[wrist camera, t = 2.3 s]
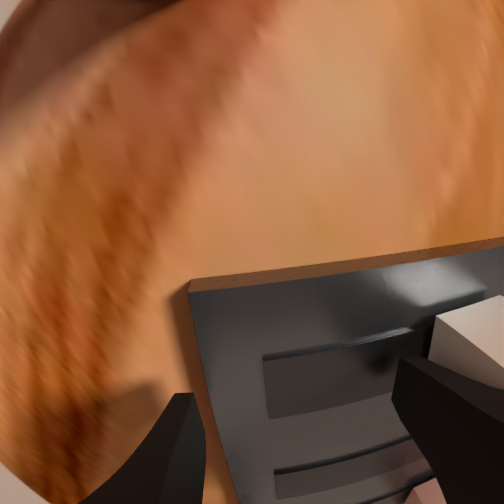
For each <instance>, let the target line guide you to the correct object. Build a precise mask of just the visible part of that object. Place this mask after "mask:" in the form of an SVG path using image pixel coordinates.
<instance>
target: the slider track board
mask: <svg viewBox="0 0 504 504" xmlns="http://www.w3.org/2000/svg"><path fill="white" fill-rule="evenodd" d="M498 295H501V296H503V297H504V237H500V238H494V239H488V240H482V241H475V242H469V243H463V244H456V245H450V246H444V247H437V248H430V249H424V250H417V251H410V252H403V253H396V254H389V255H382V256H375V257H368V258H361V259H353V260H346V261H339V262H331V263H323V264H316V265H308V266H300V267H292V268H284V269H276V270H268V271H260V272H251V273H243V274H234V275H226V276H217V277H208V278H199V279H192V280H191V283H190V286H189V290H188V297H189V303H190V308H191V314H192V319H193V324H194V329H195V334H196V339H197V344H198V349H199V353H200V358H201V363H202V367H203V372H204V376H205V380H206V385H207V389H208V393H209V397H210V401H211V405H212V409H213V413H214V417H215V421H216V425H217V429H218V433H219V436H220V440H221V444H222V447H223V451H224V454H225V458H226V461H227V465H228V468H229V472H230V475H231V478H232V482H233V485H234V488H235V491H236V494H237V498H238V501H239V504H404V503H405V501H406V500H407V498H408V496H409V495H410V493H411V491H412V490H413V488H415V487H417V486H419V485H421V484H423V483H426V482H428V481H430V480H432V479H434V478H436V477H435V475H434V473H433V470H432V469H431V467H430V465H429V463H428V462H427V460H426V459H425V457H424V455H423V454H422V452H421V451H420V449H419V448H418V446H417V445H416V443H415V442H414V440H413V439H412V437H411V436H410V434H409V433H408V431H407V430H406V428H405V427H404V425H403V423H402V422H401V420H400V418H399V416H398V414H397V412H396V410H395V408H394V405H393V403H392V401H391V397H392V392H393V387H394V382H395V377H396V372H397V367H398V361H399V357H402V356H405V355H408V354H412V353H414V354H417V355H419V356H422V357H424V358H426V359H428V356H429V351H430V346H431V341H432V336H433V330H434V325H435V319H436V315H439V314H443V313H446V312H449V311H453V310H456V309H459V308H462V307H466V306H469V305H472V304H475V303H478V302H481V301H484V300H487V299H490V298H493V297H495V296H498Z"/></svg>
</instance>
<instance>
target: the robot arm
mask: <svg viewBox="0 0 504 504" xmlns="http://www.w3.org/2000/svg"><path fill="white" fill-rule="evenodd" d="M391 401H392V403H393V405H394V408H395V410H396V412H397V414H398V416H399V418H400V420H401V422H402V423H403V425H404V427H405V428H406V430H407V431H408V433H409V434H410V436H411V437H412V439H413V440H414V442H415V443H416V445H417V446H418V448H419V449H420V451H421V452H422V454H423V455H424V457H425V459H426V460H427V462H428V463H429V465H430V467H431V469H432V470H433V473H434V475H435V477H436V479H437V481H438V484H439V486H440V488H441V491H442V493H443V496H444V498H445V501H446V503H447V504H504V390H502V389H498V388H495V387H492V386H489V385H486V384H483V383H480V382H478V381H475V380H473V379H470V378H468V377H465V376H463V375H461V374H458V373H456V372H454V371H452V370H450V369H448V368H445V367H443V366H441V365H439V364H437V363H435V362H433V361H430V360H428V359H426V358H424V357H422V356H419V355H417V354H414V353H412V354H408V355H405V356H402V357H399V361H398V367H397V372H396V377H395V382H394V387H393V392H392V397H391ZM205 465H206V439H205V431H204V427H203V424H202V421H201V417H200V414H199V410H198V407H197V403H196V400H195V396H194V392H192V393H175V394H174V395H173V396H172V398H171V400H170V401H169V403H168V405H167V406H166V408H165V410H164V411H163V413H162V414H161V416H160V417H159V419H158V420H157V422H156V423H155V425H154V426H153V428H152V429H151V430H150V432H149V433H148V435H147V436H146V438H145V439H144V440H143V442H142V443H141V444H140V445H139V446H138V448H137V449H136V450H135V451H134V453H133V454H132V455H131V456H130V458H129V459H128V460H127V461H126V462H125V463H124V464H123V465H122V466H121V467H120V468H119V470H118V471H117V472H116V473H114V474H113V475H112V476H111V477H110V478H109V479H108V480H107V481H106V482H105V483H104V484H102V485H101V486H100V487H99V488H98V489H97V490H95V491H94V492H93V493H92V494H90V495H89V496H88V497H86V498H85V499H84V500H82V501H81V502H79V503H78V504H202V498H203V487H204V476H205Z"/></svg>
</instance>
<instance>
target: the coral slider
mask: <svg viewBox="0 0 504 504" xmlns="http://www.w3.org/2000/svg"><path fill="white" fill-rule="evenodd" d="M404 504H447V503H446V501H445V498H444V496H443V493H442V491H441V488H440V486H439V484H438V481H437V479H436V478H434V479H432V480H430V481H428V482H426V483H423V484H421V485H419V486H417V487H415V488H413V490H412V491H411V493H410V495H409V496H408V498H407V500H406V501H405V503H404Z"/></svg>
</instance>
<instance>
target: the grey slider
mask: <svg viewBox="0 0 504 504" xmlns="http://www.w3.org/2000/svg"><path fill="white" fill-rule="evenodd" d="M428 360H430V361H433V362H435V363H437V364H439V365H441V366H443V367H445V368H448V369H450V370H452V371H454V372H456V373H458V374H461V375H463V376H465V377H468V378H470V379H473V380H475V381H478V382H480V383H483V384H486V385H489V386H492V387H495V388H498V389H502V390H504V297H503V296H501V295H498V296H495V297H493V298H490V299H487V300H484V301H481V302H478V303H475V304H472V305H469V306H466V307H462V308H459V309H456V310H453V311H449V312H446V313H443V314H439V315H436V319H435V325H434V330H433V336H432V341H431V346H430V351H429V356H428Z"/></svg>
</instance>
